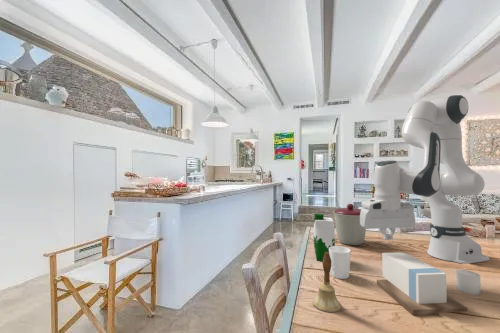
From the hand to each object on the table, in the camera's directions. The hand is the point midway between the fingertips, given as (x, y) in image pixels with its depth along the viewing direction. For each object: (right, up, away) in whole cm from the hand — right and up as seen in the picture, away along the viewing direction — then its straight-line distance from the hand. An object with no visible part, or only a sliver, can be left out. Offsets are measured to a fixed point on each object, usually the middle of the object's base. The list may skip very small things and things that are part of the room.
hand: (387, 239), depth 93 cm
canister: (+2, -14, +40) cm, 42 cm away
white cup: (-18, -14, +1) cm, 23 cm away
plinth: (+1, -14, -16) cm, 21 cm away
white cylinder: (+19, -14, -13) cm, 27 cm away
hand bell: (-29, -15, -19) cm, 38 cm away
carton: (0, -8, -4) cm, 9 cm away
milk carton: (-19, -14, +18) cm, 30 cm away
